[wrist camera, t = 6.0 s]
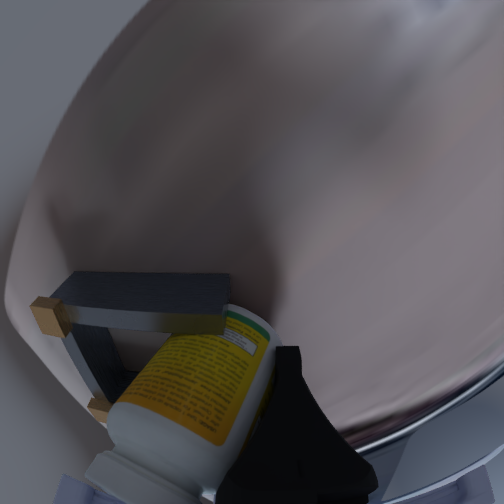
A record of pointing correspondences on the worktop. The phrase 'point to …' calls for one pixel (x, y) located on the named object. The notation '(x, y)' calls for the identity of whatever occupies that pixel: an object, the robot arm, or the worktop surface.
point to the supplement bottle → (189, 414)
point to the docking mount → (127, 319)
